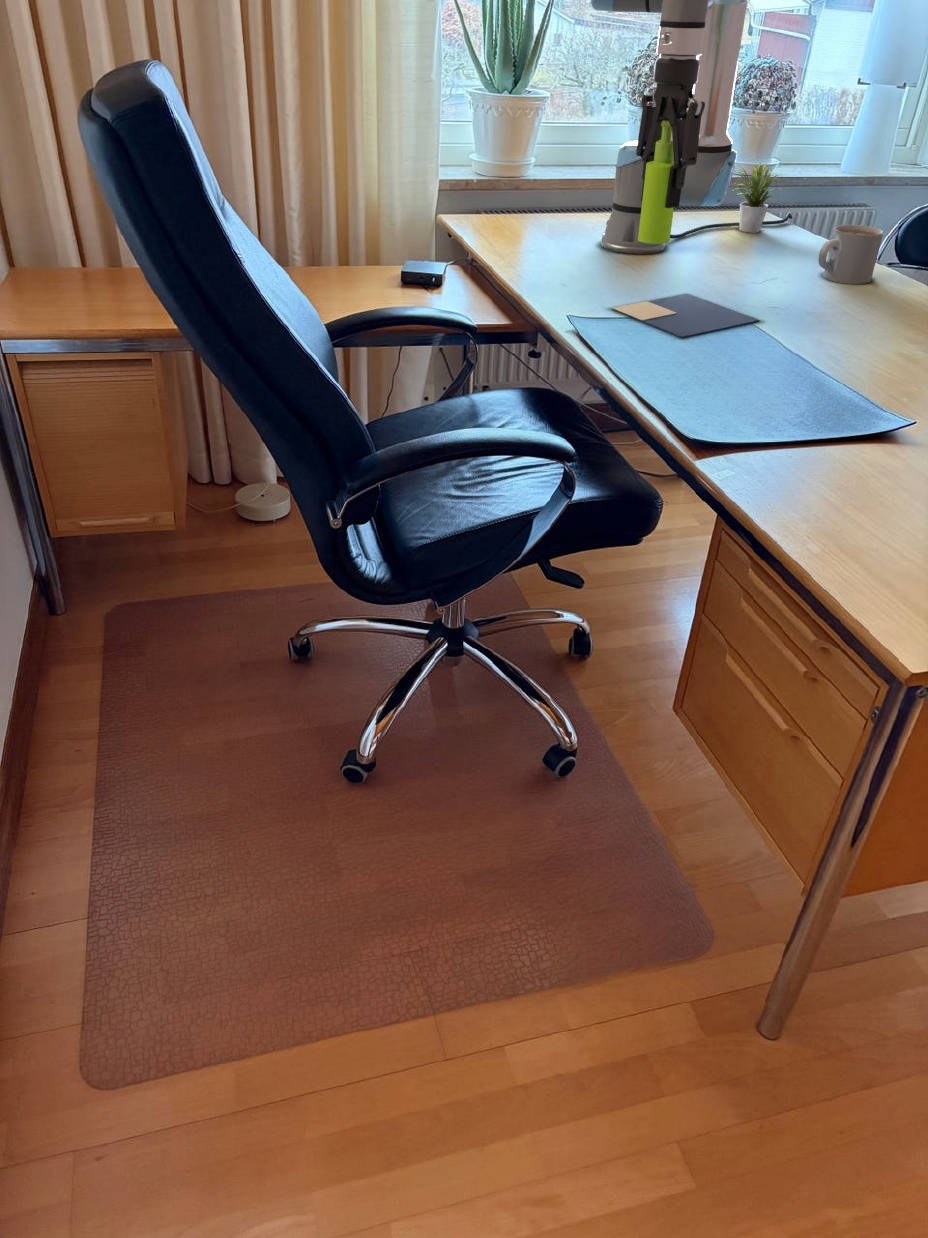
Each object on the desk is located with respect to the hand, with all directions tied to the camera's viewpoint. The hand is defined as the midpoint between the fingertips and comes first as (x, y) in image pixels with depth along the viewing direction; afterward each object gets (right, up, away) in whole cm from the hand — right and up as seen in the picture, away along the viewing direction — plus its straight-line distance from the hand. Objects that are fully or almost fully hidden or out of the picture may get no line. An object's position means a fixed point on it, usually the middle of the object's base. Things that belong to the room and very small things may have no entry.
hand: (659, 203), depth 169 cm
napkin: (+7, -18, +9) cm, 21 cm away
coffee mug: (+47, -2, +33) cm, 57 cm away
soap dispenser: (0, -5, +4) cm, 7 cm away
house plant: (+38, +25, +71) cm, 84 cm away
